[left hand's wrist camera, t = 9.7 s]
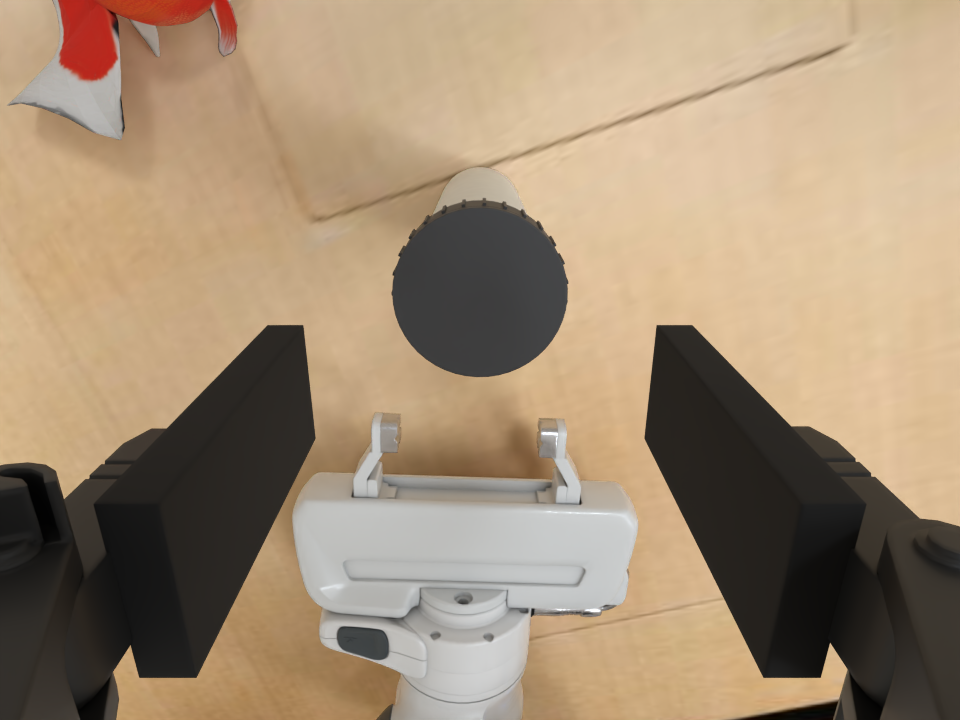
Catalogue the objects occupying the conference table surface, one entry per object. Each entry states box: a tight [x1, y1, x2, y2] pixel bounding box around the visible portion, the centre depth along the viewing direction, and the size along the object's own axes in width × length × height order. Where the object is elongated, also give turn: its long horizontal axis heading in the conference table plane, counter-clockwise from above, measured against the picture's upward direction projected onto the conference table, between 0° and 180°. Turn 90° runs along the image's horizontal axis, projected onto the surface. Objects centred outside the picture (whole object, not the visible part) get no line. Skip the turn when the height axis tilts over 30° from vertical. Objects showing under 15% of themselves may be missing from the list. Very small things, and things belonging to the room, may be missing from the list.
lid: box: [392, 198, 568, 377], centre depth 21 cm, size 6×6×2 cm
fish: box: [8, 0, 237, 140], centre depth 31 cm, size 11×16×10 cm
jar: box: [433, 167, 527, 214], centre depth 29 cm, size 5×5×18 cm
